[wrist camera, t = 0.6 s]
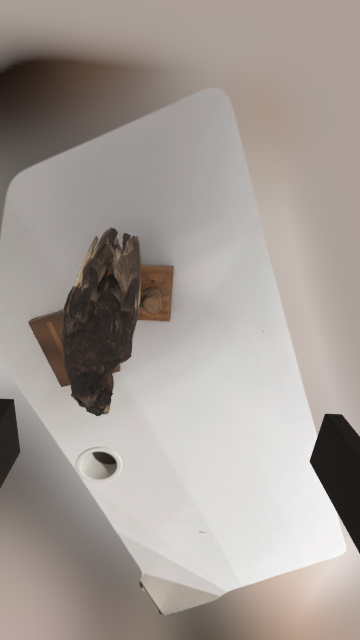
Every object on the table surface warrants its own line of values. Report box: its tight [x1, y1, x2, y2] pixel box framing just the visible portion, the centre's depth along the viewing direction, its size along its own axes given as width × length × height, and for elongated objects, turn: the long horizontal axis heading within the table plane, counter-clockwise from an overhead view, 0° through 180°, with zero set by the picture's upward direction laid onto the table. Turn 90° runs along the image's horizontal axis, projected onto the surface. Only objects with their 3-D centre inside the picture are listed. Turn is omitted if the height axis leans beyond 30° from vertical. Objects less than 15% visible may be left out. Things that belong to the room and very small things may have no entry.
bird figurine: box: [62, 228, 174, 416], centre depth 34 cm, size 11×14×25 cm
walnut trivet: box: [28, 310, 120, 387], centre depth 49 cm, size 12×10×1 cm
